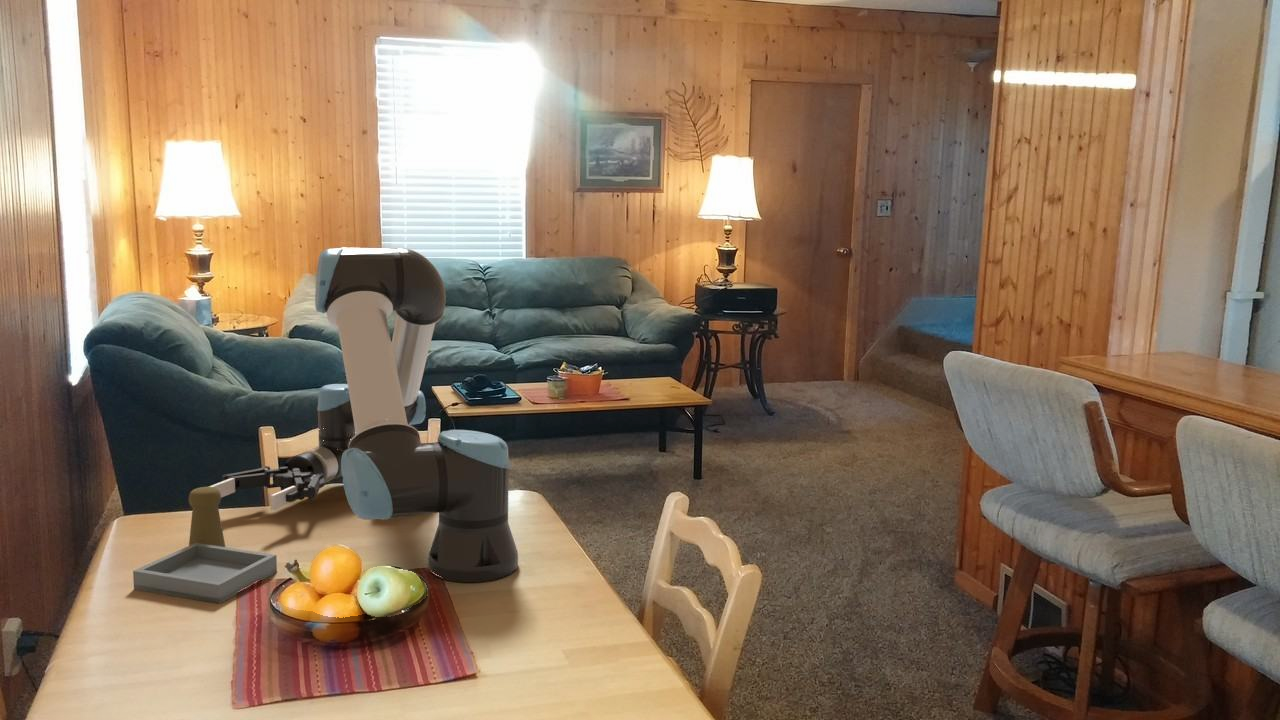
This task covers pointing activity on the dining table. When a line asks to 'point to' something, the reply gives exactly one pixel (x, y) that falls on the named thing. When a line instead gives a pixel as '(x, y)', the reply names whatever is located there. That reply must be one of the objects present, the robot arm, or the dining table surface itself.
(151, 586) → the tray
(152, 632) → the dining table surface
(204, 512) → the cork
